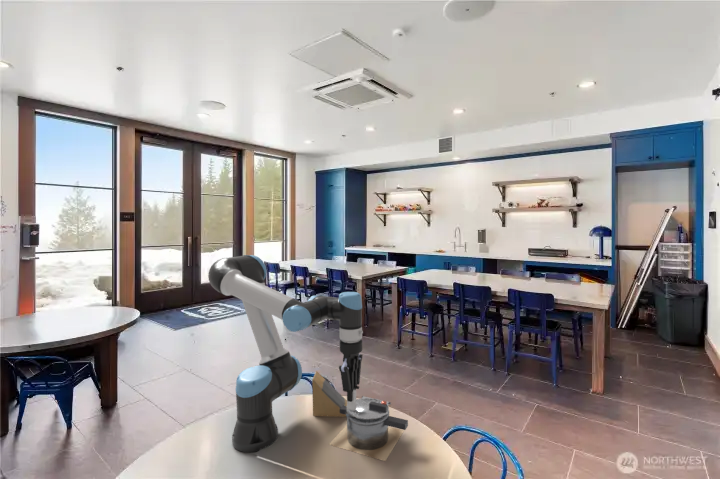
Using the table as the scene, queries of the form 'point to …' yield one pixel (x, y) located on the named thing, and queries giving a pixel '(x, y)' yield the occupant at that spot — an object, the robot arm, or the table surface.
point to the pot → (370, 430)
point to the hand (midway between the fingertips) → (351, 408)
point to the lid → (369, 408)
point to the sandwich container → (326, 398)
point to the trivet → (376, 453)
